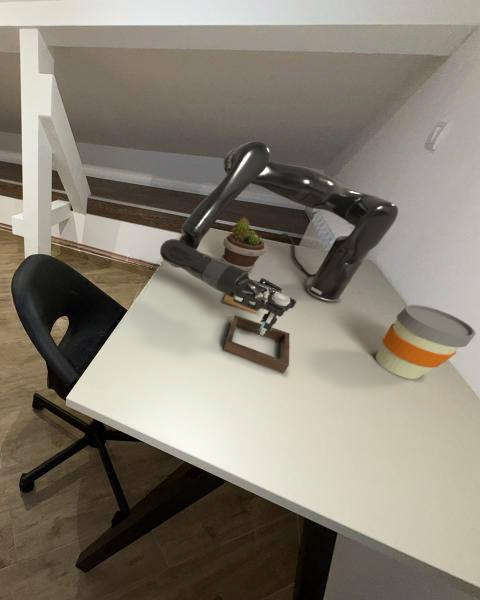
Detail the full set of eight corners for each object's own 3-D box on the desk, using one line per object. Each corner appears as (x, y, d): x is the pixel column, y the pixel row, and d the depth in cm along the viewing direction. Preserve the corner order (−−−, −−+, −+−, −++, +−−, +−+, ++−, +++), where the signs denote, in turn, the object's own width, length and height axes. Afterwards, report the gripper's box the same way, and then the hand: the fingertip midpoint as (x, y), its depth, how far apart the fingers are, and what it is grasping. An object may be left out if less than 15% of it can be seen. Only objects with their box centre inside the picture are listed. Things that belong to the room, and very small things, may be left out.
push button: (271, 341, 76) (290, 309, 70) (248, 330, 78) (265, 299, 72) (278, 327, 80) (296, 297, 74) (256, 318, 82) (272, 287, 76)
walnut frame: (231, 323, 90) (234, 314, 89) (284, 341, 85) (289, 333, 83) (223, 350, 80) (227, 341, 78) (283, 373, 75) (289, 365, 73)
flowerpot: (250, 261, 126) (271, 213, 115) (259, 279, 114) (283, 227, 103) (213, 255, 128) (230, 208, 117) (218, 272, 116) (237, 221, 105)
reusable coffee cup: (428, 366, 81) (474, 321, 72) (430, 393, 73) (481, 346, 64) (369, 342, 87) (404, 298, 79) (364, 364, 80) (403, 318, 71)
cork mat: (227, 289, 106) (227, 288, 106) (258, 298, 103) (259, 297, 102) (222, 302, 99) (223, 301, 99) (256, 313, 95) (256, 312, 95)
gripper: (213, 272, 78) (282, 305, 67) (243, 258, 85) (309, 286, 75) (204, 296, 82) (268, 332, 71) (233, 282, 90) (294, 311, 79)
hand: (288, 308), depth 73 cm, fingers closed on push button, 5 cm apart
